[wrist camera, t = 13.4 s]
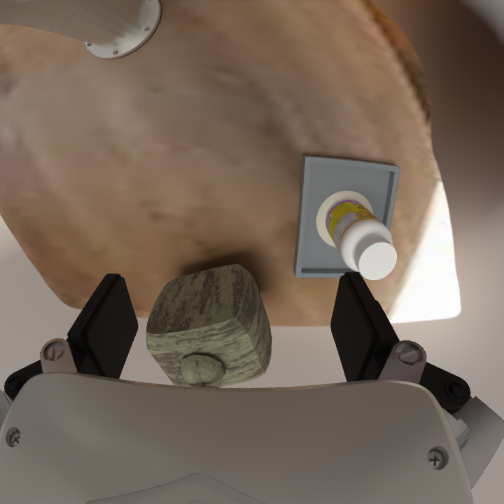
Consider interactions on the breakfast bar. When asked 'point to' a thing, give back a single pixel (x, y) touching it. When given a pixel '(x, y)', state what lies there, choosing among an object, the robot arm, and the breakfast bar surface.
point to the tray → (326, 195)
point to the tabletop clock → (210, 329)
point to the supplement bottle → (361, 239)
